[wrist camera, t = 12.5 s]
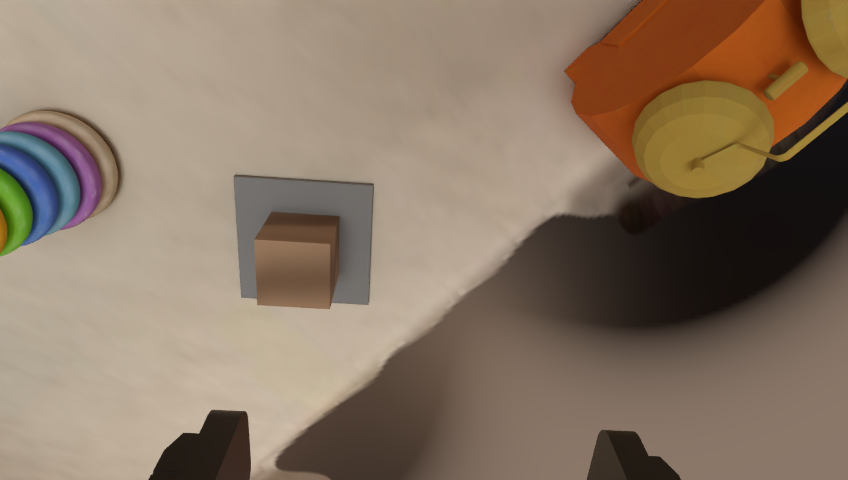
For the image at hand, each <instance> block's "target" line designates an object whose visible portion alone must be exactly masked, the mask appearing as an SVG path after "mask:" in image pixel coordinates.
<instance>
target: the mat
mask: <svg viewBox="0 0 848 480" xmlns="http://www.w3.org/2000/svg"><path fill="white" fill-rule="evenodd" d="M234 191H235V206H236V221H237V237H238V252H239V268H240V283H241V298H257V286H256V267H255V247H254V239H255V237H256V236H257V234H258V232H259V231H260V229H261V228H262V226H263V225H264V223H265V221H266V220H267V218H268V217H269V215H270V213H271V212H282V213H298V214H313V215H329V216H339V276H338V280H337V283H336V287H335V291H334V295H333V299H332V302H331V303H345V304H362V305H368V303H369V279H370V253H371V228H372V202H373V184H365V183H350V182H335V181H319V180H304V179H289V178H274V177H259V176H243V175H235V176H234Z"/></svg>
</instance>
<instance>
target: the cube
mask: <svg viewBox="0 0 848 480" xmlns="http://www.w3.org/2000/svg"><path fill="white" fill-rule="evenodd" d="M254 247H255V267H256V286H257V305H266V306H284V307H301V308H319V309H330V306H331V302H332V299H333V295H334V291H335V287H336V283H337V280H338V276H339V216H329V215H313V214H298V213H282V212H271V213H270V215H269V217H268V218H267V220H266V221H265V223H264V225H263V226H262V228H261V229H260V231H259V232H258V234H257V236H256V237H255V239H254Z"/></svg>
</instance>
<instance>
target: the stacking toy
mask: <svg viewBox="0 0 848 480" xmlns="http://www.w3.org/2000/svg"><path fill="white" fill-rule="evenodd" d="M117 185H118V171H117V166H116V162H115V159H114V157H113V154H112V152H111V150H110V149H109V147H108V145H107V144H106V143H105V141H104V140H103V139H102V138H101V137H100V135H99V134H98V133H97V132H95V131H94V130H93V129H92V128H91V127H89V126H88V125H87V124H85V123H83V122H82V121H80V120H78V119H76V118H74V117H72V116H69V115H66V114H63V113H59V112H54V111H35V112H30V113H26V114H23V115H20V116H18V117H17V118H15V119H14V120H12V121H11V122H10V123H8V124H7V125H6V127H4V128H2V129H0V256H3V255H6V254H8V253H10V252H12V251H14V250H16V249H17V248H18V247H20V246H23V245H27V244H30V243H33V242H35V241H37V240H39V239H40V238H42V237H43V236H45V235H48V234H51V233H54V232H56V231H58V230H63V229H68V228H71V227H74V226H76V225H78V224H80V223H82V222H83V221H85V220H86V219H88V218H91V217H93V216H95V215H97V214H99V213H100V212H101V211H103V210H104V209H105V208H106V207H107V206H108V205H109V204H110V202H111V201H112V199H113V198H114V196H115V193H116V190H117Z"/></svg>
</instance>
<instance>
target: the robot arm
mask: <svg viewBox="0 0 848 480" xmlns="http://www.w3.org/2000/svg"><path fill="white" fill-rule="evenodd" d="M250 471H251V457H250V442H249V427H248V416H247V413H246V412H245V411H226V410H212V411H210V413H209V414H208V416H207V418H206V420H205V422H204V425H203V427H202V429H201V431H200V433H199V434H196V433H183V434H182V435H181V436H180V437H178V438H177V439H176V440H175V441H174V442H173V443H172V444H171V445H170V446H168V447H167V448H166V449H165V450H164V452H163V454H162V455H161V457H160V459H159V461H158V463H157V465H156V467H155V469H154V470H153V475H151V476H150V478H149V480H249V479H250ZM587 480H681V479H680V477H679V475H678V474H677V473H676V472H675V471H674V470H673V469H672V468H671V467H670V466H669V465H668V464H667V463H666V462H665V461H664V460H663V459H662V458H661V457H657V456H648V454H647V452H646V450H645V448H644V445H643V444H642V442H641V439H640V438H639V436H638V434H637V433H636V432H633V431H612V430H601V431H600V433H599V435H598V438H597V441H596V445H595V449H594V453H593V458H592V461H591V465H590V469H589V473H588V477H587Z"/></svg>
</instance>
